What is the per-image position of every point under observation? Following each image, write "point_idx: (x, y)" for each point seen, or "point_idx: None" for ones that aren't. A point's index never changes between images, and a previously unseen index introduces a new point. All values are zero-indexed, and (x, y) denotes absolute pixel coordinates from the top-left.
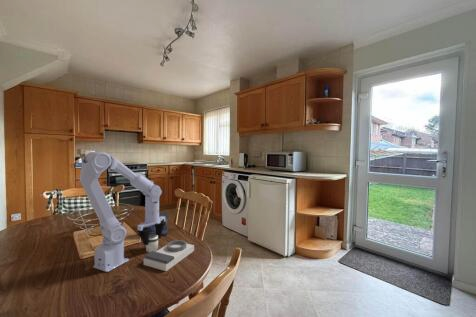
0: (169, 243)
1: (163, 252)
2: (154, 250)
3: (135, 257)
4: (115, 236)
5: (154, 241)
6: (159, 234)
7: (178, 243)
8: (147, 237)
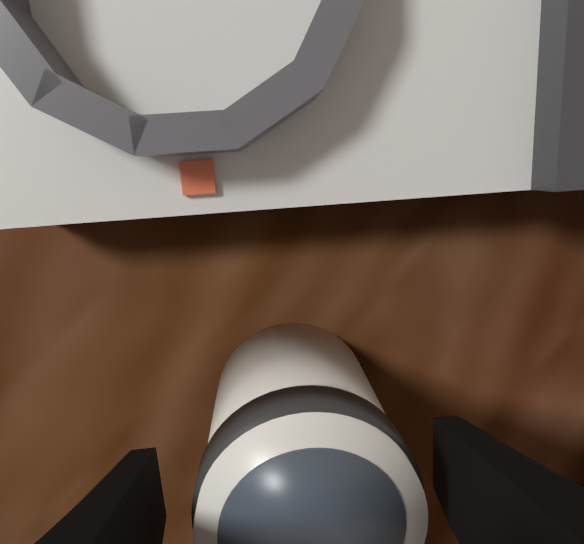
0: (224, 110)
1: (439, 47)
2: (317, 333)
3: (520, 396)
4: None
5: (346, 392)
6: (135, 509)
7: (46, 37)
8: (564, 488)
